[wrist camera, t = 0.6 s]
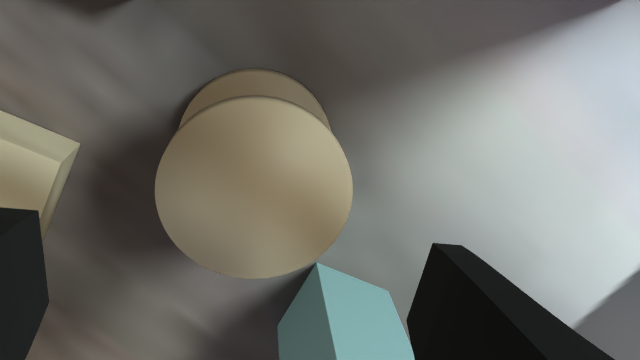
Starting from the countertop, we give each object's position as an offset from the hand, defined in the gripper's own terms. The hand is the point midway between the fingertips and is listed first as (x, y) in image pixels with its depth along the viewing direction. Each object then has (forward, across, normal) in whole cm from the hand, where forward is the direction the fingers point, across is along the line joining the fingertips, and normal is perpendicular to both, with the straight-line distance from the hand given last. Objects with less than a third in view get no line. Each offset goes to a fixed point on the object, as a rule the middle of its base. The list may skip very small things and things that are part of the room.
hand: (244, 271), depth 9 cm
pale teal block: (+10, -5, +10) cm, 15 cm away
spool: (+10, 0, +2) cm, 11 cm away
